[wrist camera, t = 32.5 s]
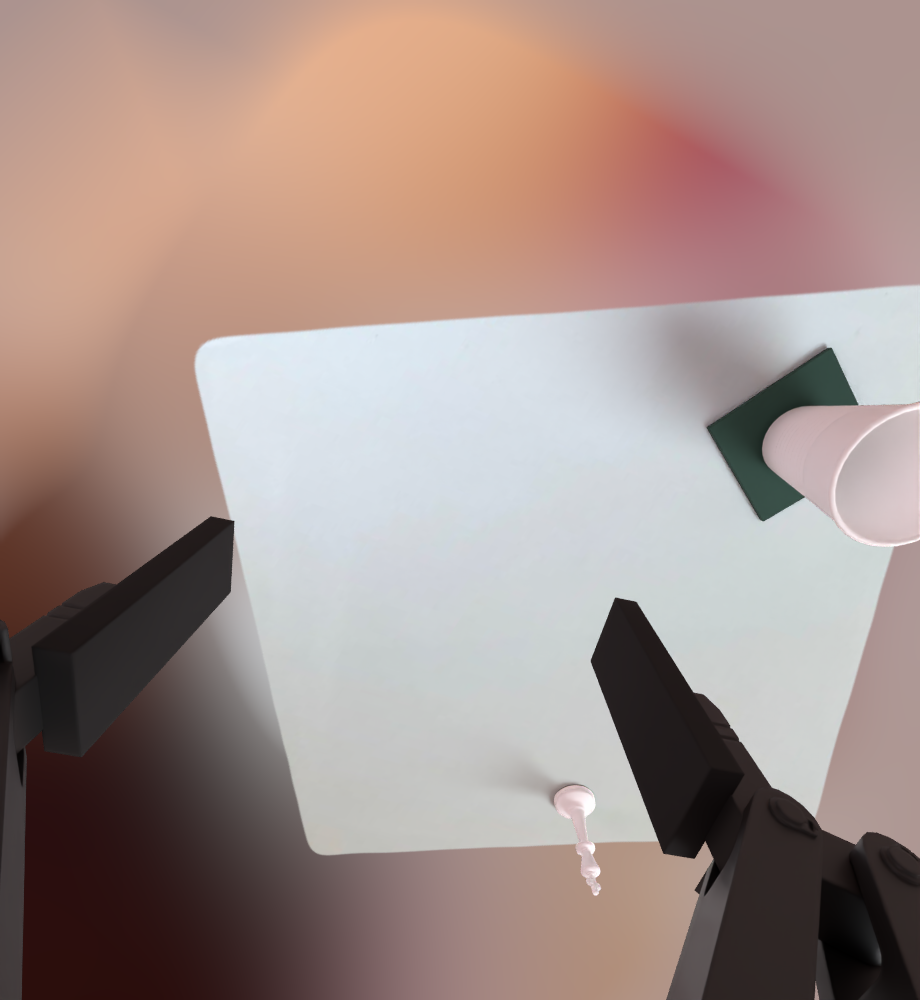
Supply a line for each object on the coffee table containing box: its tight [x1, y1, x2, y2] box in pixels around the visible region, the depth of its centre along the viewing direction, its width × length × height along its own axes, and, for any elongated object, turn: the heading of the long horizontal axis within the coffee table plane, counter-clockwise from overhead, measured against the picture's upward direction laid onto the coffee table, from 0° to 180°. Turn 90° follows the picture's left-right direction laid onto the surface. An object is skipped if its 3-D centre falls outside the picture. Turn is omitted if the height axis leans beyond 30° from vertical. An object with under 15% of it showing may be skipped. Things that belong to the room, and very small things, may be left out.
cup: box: [762, 402, 920, 547], centre depth 35 cm, size 10×10×11 cm
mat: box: [707, 348, 858, 521], centre depth 40 cm, size 11×11×1 cm
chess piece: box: [554, 785, 601, 896], centre depth 51 cm, size 5×5×10 cm
